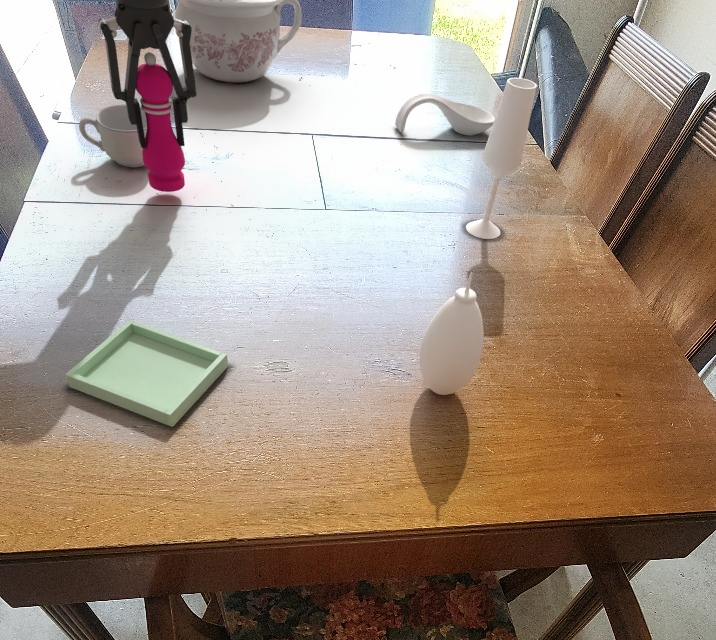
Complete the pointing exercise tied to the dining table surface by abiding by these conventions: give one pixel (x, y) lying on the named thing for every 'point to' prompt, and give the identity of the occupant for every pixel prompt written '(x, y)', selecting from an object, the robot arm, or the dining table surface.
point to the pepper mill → (159, 127)
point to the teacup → (116, 135)
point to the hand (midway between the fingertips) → (161, 143)
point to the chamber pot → (236, 36)
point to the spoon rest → (450, 114)
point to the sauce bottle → (453, 343)
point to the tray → (148, 372)
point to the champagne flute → (505, 145)
